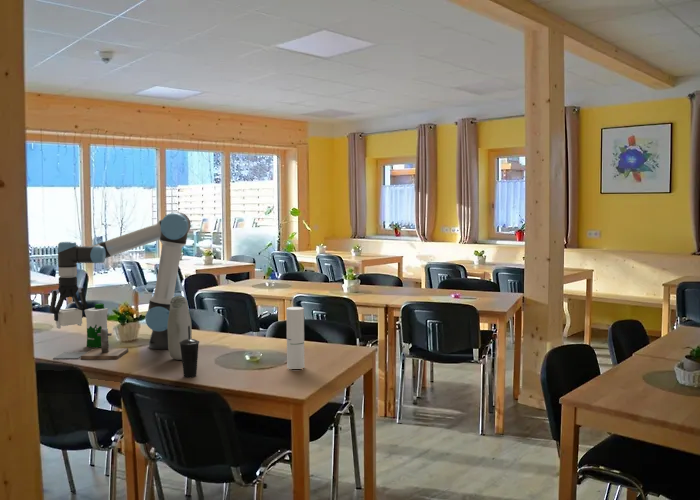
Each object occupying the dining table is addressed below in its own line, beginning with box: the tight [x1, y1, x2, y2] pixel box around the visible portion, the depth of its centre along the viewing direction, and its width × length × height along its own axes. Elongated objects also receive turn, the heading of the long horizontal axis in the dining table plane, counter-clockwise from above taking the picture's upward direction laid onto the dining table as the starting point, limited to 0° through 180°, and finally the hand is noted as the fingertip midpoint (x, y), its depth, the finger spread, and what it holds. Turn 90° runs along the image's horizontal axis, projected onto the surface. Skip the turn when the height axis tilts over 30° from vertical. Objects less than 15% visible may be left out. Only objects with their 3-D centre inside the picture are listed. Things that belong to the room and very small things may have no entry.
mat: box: [52, 351, 88, 360], centre depth 285 cm, size 11×11×1 cm
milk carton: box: [83, 303, 109, 349], centre depth 305 cm, size 9×9×20 cm
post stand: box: [80, 327, 129, 360], centre depth 286 cm, size 16×14×12 cm
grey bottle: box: [167, 295, 193, 361], centre depth 278 cm, size 10×10×28 cm
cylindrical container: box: [285, 306, 305, 370], centre depth 262 cm, size 7×7×25 cm
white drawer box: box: [59, 307, 83, 327], centre depth 284 cm, size 8×8×6 cm
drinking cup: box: [179, 326, 200, 379], centre depth 251 cm, size 8×8×20 cm
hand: (69, 326), depth 284 cm, fingers closed on white drawer box, 8 cm apart
